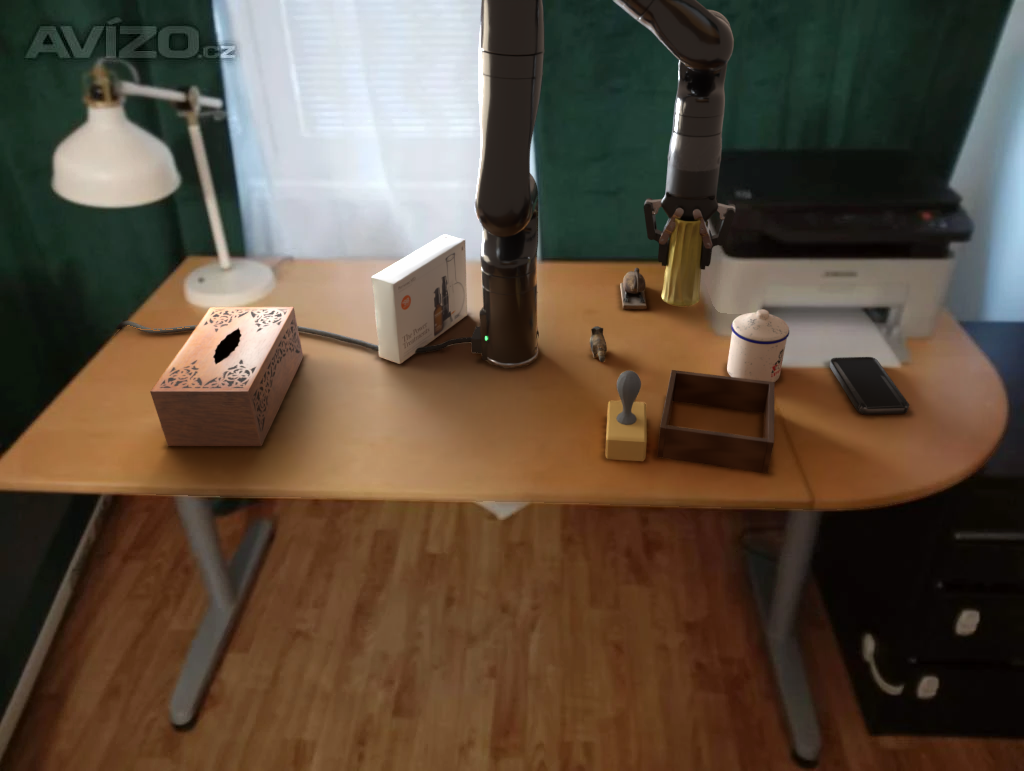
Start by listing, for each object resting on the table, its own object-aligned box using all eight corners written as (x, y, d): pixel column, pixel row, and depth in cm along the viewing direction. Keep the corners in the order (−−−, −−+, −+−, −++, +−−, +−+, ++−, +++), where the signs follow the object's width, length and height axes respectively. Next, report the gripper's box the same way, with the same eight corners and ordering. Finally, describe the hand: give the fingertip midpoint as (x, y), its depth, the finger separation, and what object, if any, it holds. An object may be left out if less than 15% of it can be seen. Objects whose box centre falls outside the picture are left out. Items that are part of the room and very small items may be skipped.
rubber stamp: (607, 419, 127) (610, 353, 121) (644, 421, 127) (650, 355, 120) (605, 458, 119) (608, 390, 113) (645, 461, 119) (650, 393, 112)
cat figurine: (602, 340, 146) (604, 323, 144) (609, 371, 141) (611, 354, 138) (587, 341, 146) (588, 324, 143) (593, 372, 141) (595, 355, 138)
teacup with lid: (782, 390, 133) (794, 327, 126) (724, 384, 135) (733, 322, 128) (779, 352, 142) (790, 292, 136) (725, 347, 144) (733, 288, 138)
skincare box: (402, 366, 142) (392, 283, 133) (378, 358, 144) (367, 276, 135) (471, 315, 156) (466, 237, 148) (447, 308, 159) (441, 231, 150)
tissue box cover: (261, 446, 124) (247, 391, 118) (167, 445, 124) (150, 391, 119) (303, 356, 145) (293, 306, 140) (223, 356, 146) (210, 307, 140)
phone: (861, 409, 126) (828, 357, 138) (859, 415, 126) (827, 363, 139) (912, 407, 126) (875, 356, 138) (910, 413, 126) (874, 362, 139)
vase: (705, 295, 134) (715, 212, 126) (690, 310, 129) (700, 225, 121) (670, 286, 136) (678, 205, 128) (655, 301, 132) (662, 218, 124)
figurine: (648, 320, 153) (651, 278, 148) (624, 320, 153) (626, 278, 149) (642, 286, 165) (645, 246, 160) (619, 286, 165) (622, 246, 160)
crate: (657, 457, 119) (659, 427, 116) (668, 398, 132) (671, 369, 129) (768, 473, 116) (774, 442, 113) (769, 411, 128) (774, 381, 125)
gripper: (745, 155, 122) (731, 260, 131) (648, 149, 125) (641, 252, 134) (743, 172, 116) (728, 280, 125) (641, 165, 119) (634, 271, 128)
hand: (683, 265), depth 130 cm, fingers closed on vase, 5 cm apart
